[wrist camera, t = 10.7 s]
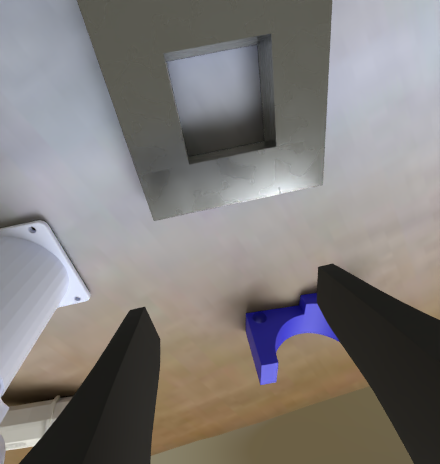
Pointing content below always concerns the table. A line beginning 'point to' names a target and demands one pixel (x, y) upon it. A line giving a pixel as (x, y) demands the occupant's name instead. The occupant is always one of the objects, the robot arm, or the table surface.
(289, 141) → the socket block
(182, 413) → the table surface
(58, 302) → the robot arm
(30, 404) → the angle grinder
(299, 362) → the table surface
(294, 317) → the blue bearing cradle
